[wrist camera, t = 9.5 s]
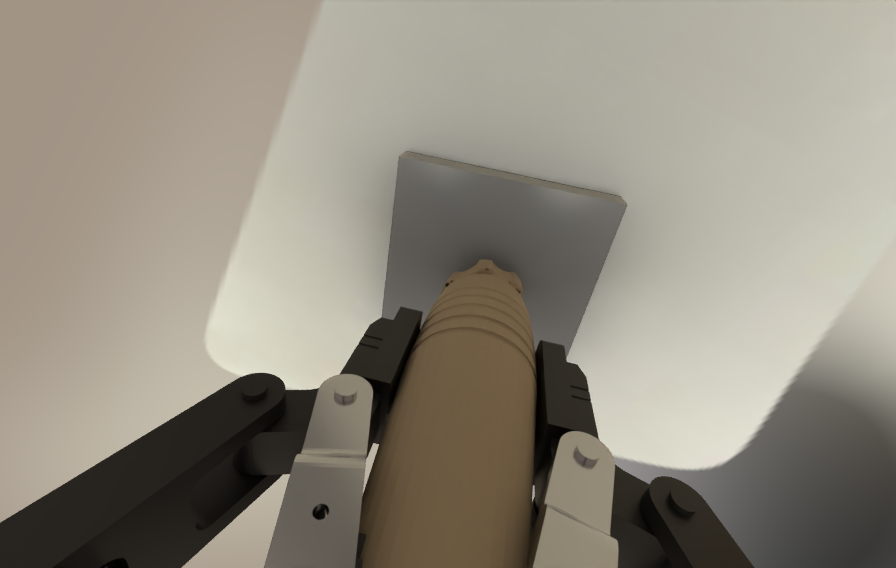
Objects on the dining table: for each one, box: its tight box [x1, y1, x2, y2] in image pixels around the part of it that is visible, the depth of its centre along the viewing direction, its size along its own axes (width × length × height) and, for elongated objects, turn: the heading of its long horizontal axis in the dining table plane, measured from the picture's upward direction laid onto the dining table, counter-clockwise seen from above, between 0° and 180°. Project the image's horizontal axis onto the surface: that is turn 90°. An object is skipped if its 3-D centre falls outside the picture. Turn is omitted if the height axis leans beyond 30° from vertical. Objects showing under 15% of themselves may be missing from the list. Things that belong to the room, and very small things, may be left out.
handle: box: [359, 259, 537, 568], centre depth 10 cm, size 5×6×15 cm
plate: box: [382, 152, 627, 358], centre depth 18 cm, size 9×9×1 cm
